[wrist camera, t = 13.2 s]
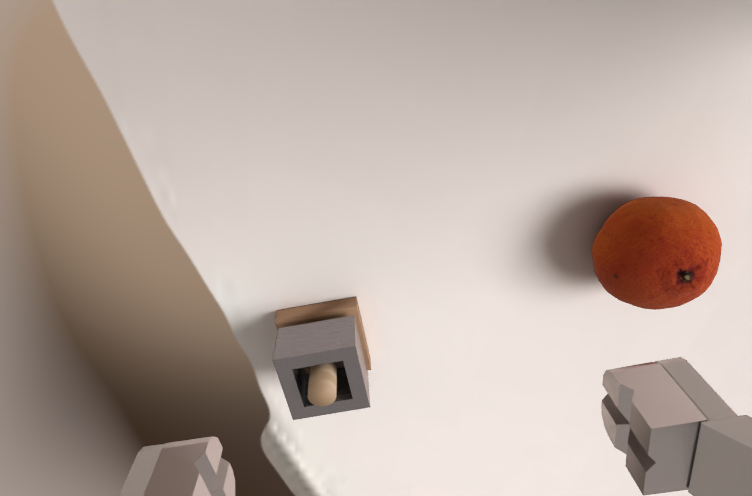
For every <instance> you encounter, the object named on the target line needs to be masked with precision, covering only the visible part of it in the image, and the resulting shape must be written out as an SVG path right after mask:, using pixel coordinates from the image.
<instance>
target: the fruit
mask: <svg viewBox="0 0 752 496" xmlns="http://www.w3.org/2000/svg"><path fill="white" fill-rule="evenodd" d="M721 246H722V243H721V238H720V235H719V232H718V229H717V227H716V225H715V224H714V223H713V221H712V220H711V219H710V217H709V216H708V215H707V214H706V213H705V212H704V211H703V210H702V209H700V208H699V207H698V206H697V205H695V204H693V203H691V202H688V201H685V200H682V199H677V198H671V197H644V198H639V199H635V200H632V201H629V202H627V203H625V204H624V205H622V206H621V207H619V208H618V209H617V210H616V211H615V212H614V213H613V214H611V215H610V216H609V217H608V219H607V220H606V222H605V223H604V226H603V227H602V228H601V230H600V231H599V232H598V234H597V235H596V237H595V240H594V243H593V246H592V257H593V263H594V270H595V273H596V276H597V278H598V280H599V281H600V283H601V284H602V286H603V287H604V289H605V290H606V291H607V292H608V293H610V294H611V295H612V296H614V297H615V298H617V299H619V300H621V301H623V302H626V303H629V304H632V305H634V306H637V307H641V308H645V309H665V308H672V307H677V306H680V305H683V304H685V303H687V302H689V301H691V300H693V299H695V298H697V297H699V296H700V295H701V294H703V293H704V292H705V291H706V290H707V288H708V287H709V286H710V285H711V283H712V281H713V279H714V277H715V275H716V274H717V270H718V266H719V262H720V256H721Z"/></svg>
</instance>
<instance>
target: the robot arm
mask: <svg viewBox="0 0 752 496" xmlns="http://www.w3.org/2000/svg"><path fill="white" fill-rule="evenodd" d="M603 386H604V388H605V389H606V391H607V393H608V394H607V395H606V396H605V398H604V399H603V400H602V417H603V422H604V426H605V429H606V431H607V434H608V436H609V438H610V440H611V441H612V443H613V445H614V447H615V448H617V449H619V450H620V451H622V452H624V453H625V454H627V456H626V467H627V469H628V471H629V472H630V474H631V476H632V477H633V479H634V481H635V482H636V484H637V486H638V487H639V489H640V491H641V493H642V494H643V495H650V494H658V493H665V492H673V491H680V490H688V489H689V490H688V492H689V493H690V494H692V495H693V496H752V418H751V417H749V416H747V415H742V416H738V415H737V414H736V413H735V412H734V411H733V410H732V409H731V408H730V407H729V406H728V405H727V404H726V402H725V401H724V400H723V399H722V398H721V397H720V396H719V395H718V394H717V393H716V392H715V391H714V390H713V388H712V387H711V386H710V385H709V384H708V383H707V382H706V381H705V380H704V379H703V378H702V377H701V375H700V374H699V373H698V372H697V371H696V370H695V369H694V368H693V367H692V366H691V365H690V364H689V363H688V361H687V360H685V359H683V358H681V357H678V358H672V359H666V360H661V361H655V362H649V363H644V364H638V365H633V366H627V367H621V368H616V369H610V370H606V371H605V373H604V375H603ZM222 449H223V448H222V446H221V444H220V442H219V440H218V438H217V437H207V438H200V439H193V440H186V441H179V442H172V443H167V444H161V445H154V446H147V447H143V448H142V450H140V451H139V453H138V454H137V456H136V458H135V461H134V463H133V465H132V467H131V470H130V472H129V474H128V476H127V479H126V481H125V483H124V486H123V488H122V490H121V492H120V494H119V496H235V479H234V474H233V470H232V468H231V466H230V463H229V462H227V461H225V460H224V459H222V458H220V457H221V453H222Z"/></svg>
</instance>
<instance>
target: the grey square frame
mask: <svg viewBox="0 0 752 496" xmlns="http://www.w3.org/2000/svg"><path fill="white" fill-rule="evenodd" d="M339 361H343V363H344V366H345V367H340V368H337V388H336V399H335V401H334V402H333V403H332V404H330V405H328V406H316V405H314V404H312V403H311V402H310V401H309V400H308V384H309V373H307V371H306V367H309V366H315V365H321V364H327V363H333V362H339ZM273 363H274V366H275V368H276V371H277V374H278V377H279V380H280V383H281V386H282V389H283V392H284V395H285V398H286V401H287V404H288V406H289V409H290V412H291V415H292V418H293V420H296V419H302V418H308V417H314V416H320V415H326V414H332V413H338V412H344V411H350V410H356V409H362V408H367V407H370V398H369V382H368V371H367V367H366V363H365V358H364V354H363V350H362V345H361V341H360V337H359V332H358V328H357V324H356V319H355V315H353V316H347V317H341V318H335V319H329V320H324V321H318V322H312V323H306V324H300V325H295V326H289V327H283V328H279V329H278V334H277V340H276V345H275V350H274V356H273Z"/></svg>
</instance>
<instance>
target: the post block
mask: <svg viewBox="0 0 752 496" xmlns="http://www.w3.org/2000/svg"><path fill="white" fill-rule="evenodd" d="M353 315H355V319H356V324H357V328H358V332H359V337H360V341H361V345H362V350H363V354H364V358H365V363H366V367H367V370H371V362H370V355H369V351H368V346H367V342H366V338H365V333H364V329H363V324H362V320H361V315H360V311H359V307H358V302H357V298H356V297H351V298H345V299H340V300H334V301H328V302H323V303H317V304H311V305H305V306H300V307H294V308H288V309H283V310H277V312H276V317H275V323H276V326H277V329H279V328H283V327H289V326H295V325H300V324H306V323H312V322H318V321H324V320H329V319H335V318H341V317H347V316H353ZM340 367H345V366H344V363H343V361H339V362H333V363H327V364H321V365H315V366H309V367H306V371H307V373H309V384H308V400H309V401H310V402H311V403H312V404H314V405H316V406H328V405H330V404H332V403H333V402H334V401H335V399H336V388H337V368H340Z"/></svg>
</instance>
